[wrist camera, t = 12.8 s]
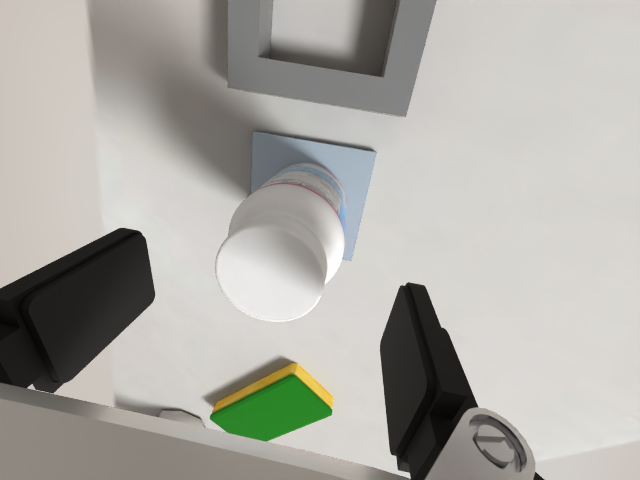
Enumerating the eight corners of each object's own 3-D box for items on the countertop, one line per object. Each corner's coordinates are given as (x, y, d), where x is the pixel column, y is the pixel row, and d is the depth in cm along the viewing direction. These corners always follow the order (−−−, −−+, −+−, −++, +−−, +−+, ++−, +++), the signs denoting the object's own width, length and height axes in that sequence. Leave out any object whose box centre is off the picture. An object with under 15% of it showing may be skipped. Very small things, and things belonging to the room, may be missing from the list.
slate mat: (254, 131, 20) (252, 131, 19) (375, 151, 19) (376, 152, 19) (250, 239, 24) (248, 242, 23) (351, 258, 23) (351, 260, 23)
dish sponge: (335, 394, 32) (333, 415, 30) (254, 429, 37) (248, 449, 34) (296, 357, 30) (292, 376, 28) (216, 399, 35) (207, 418, 32)
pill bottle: (317, 249, 23) (290, 356, 13) (256, 207, 22) (173, 287, 12) (363, 193, 20) (375, 271, 10) (297, 143, 19) (237, 174, 9)
